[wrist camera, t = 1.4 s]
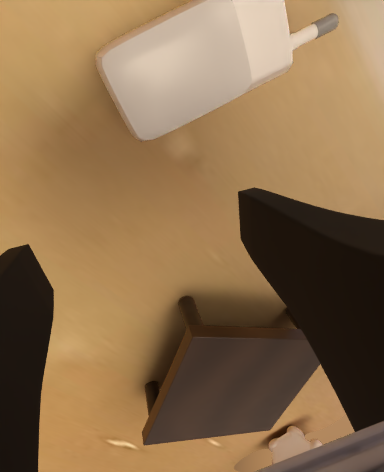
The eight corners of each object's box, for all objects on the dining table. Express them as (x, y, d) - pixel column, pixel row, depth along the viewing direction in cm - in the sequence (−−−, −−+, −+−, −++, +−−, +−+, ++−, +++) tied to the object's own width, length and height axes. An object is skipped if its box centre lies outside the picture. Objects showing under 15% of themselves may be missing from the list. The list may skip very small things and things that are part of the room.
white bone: (254, 443, 46) (281, 511, 39) (302, 413, 45) (339, 478, 38) (291, 463, 54) (318, 521, 48) (332, 438, 53) (366, 494, 47)
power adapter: (285, -62, 15) (374, -112, 10) (301, 45, 18) (377, 46, 13) (83, 40, 15) (78, 39, 10) (131, 131, 18) (144, 163, 13)
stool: (306, 300, 31) (338, 340, 27) (250, 387, 37) (270, 430, 33) (177, 290, 25) (192, 337, 21) (137, 393, 31) (143, 445, 27)
